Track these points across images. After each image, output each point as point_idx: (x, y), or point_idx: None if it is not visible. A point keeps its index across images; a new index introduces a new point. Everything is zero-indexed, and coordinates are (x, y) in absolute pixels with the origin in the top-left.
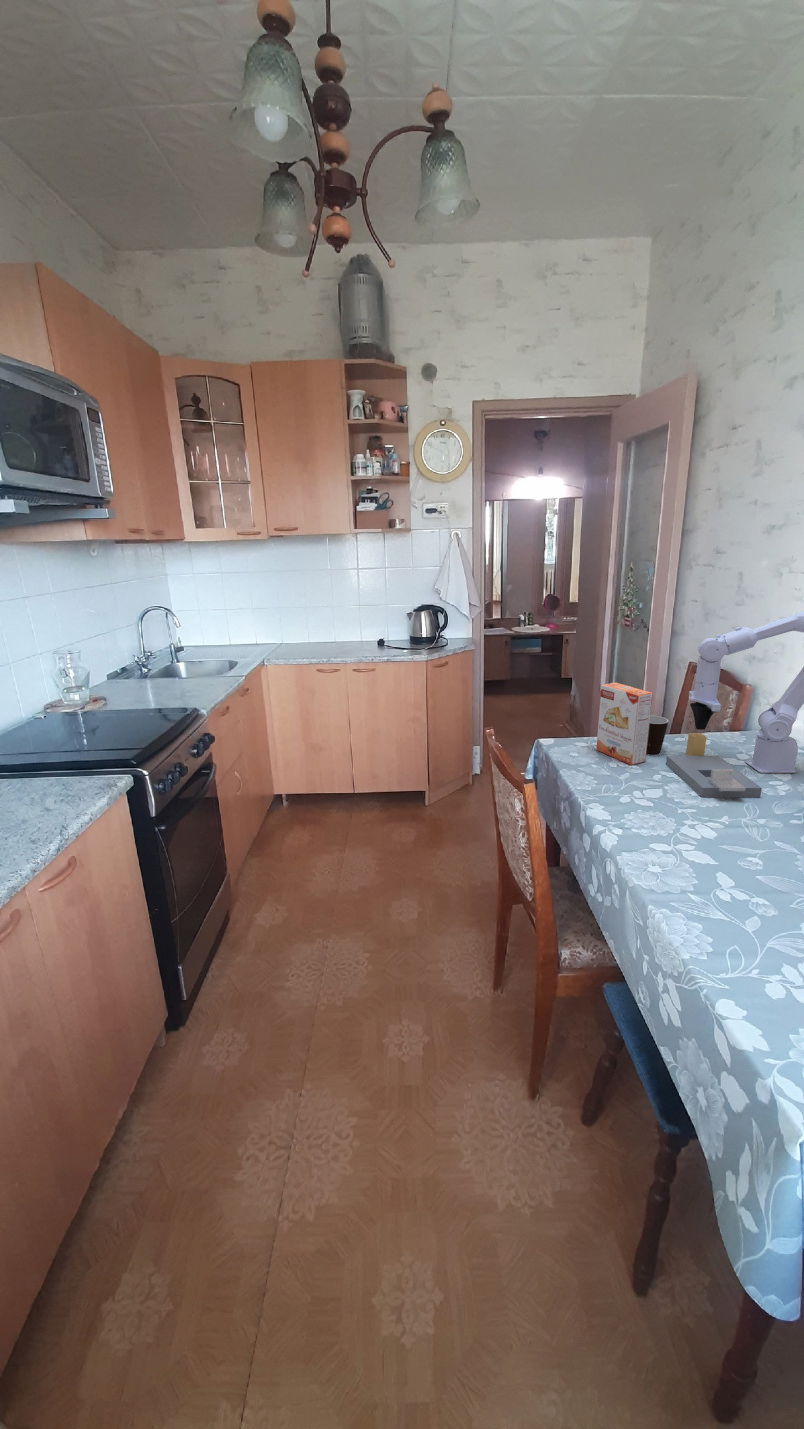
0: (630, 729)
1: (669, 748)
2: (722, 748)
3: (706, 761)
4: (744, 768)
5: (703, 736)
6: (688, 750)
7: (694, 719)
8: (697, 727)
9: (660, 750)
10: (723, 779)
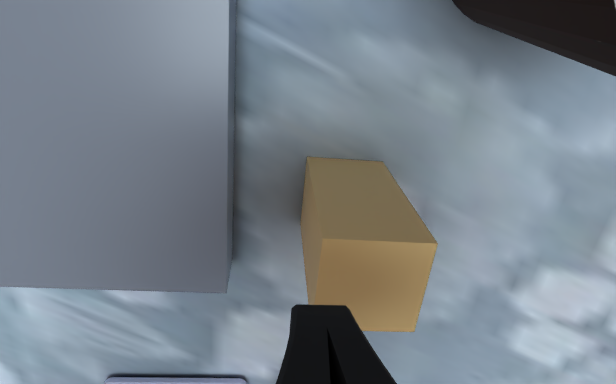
0: None
1: (519, 121)
2: (438, 370)
3: (107, 180)
4: (170, 346)
5: None
6: (363, 177)
7: (390, 378)
8: (296, 318)
9: (461, 3)
10: None
